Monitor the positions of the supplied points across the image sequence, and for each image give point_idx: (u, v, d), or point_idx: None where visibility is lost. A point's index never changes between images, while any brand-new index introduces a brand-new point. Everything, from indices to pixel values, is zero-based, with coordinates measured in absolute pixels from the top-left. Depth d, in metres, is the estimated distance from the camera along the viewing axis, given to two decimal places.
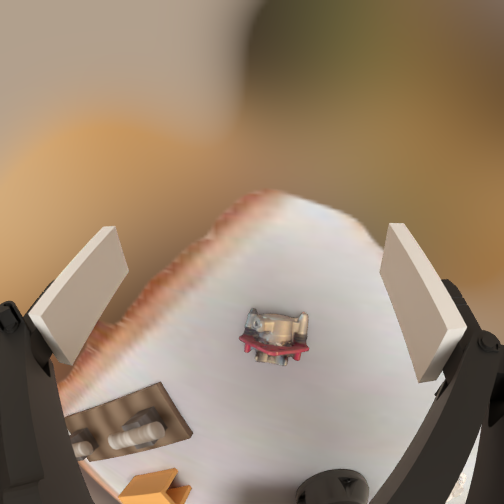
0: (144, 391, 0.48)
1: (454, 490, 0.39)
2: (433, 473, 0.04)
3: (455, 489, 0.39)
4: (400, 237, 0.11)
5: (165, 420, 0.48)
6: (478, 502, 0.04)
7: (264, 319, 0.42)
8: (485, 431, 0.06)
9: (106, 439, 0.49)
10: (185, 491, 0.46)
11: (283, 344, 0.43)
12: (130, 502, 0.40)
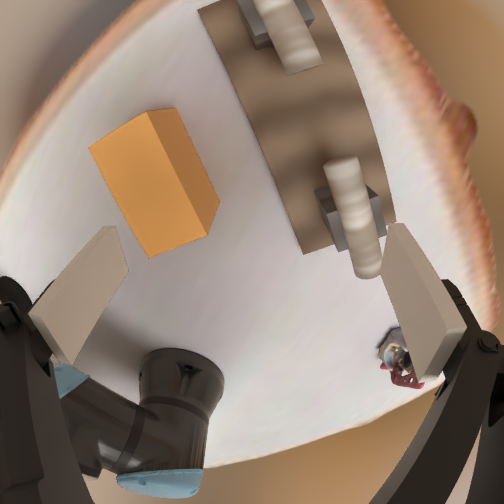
0: (390, 198, 0.31)
1: None
2: (433, 473, 0.04)
3: None
4: (400, 237, 0.11)
5: None
6: (478, 502, 0.04)
7: None
8: (486, 431, 0.06)
9: (280, 76, 0.26)
10: None
11: (409, 372, 0.40)
12: (139, 145, 0.23)
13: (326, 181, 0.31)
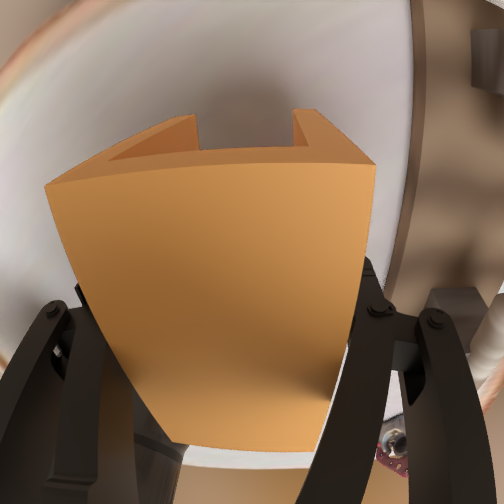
0: None
1: None
2: (346, 445, 0.05)
3: None
4: None
5: None
6: (420, 484, 0.05)
7: None
8: (408, 410, 0.07)
9: (480, 139, 0.14)
10: None
11: (398, 456, 0.35)
12: (268, 280, 0.06)
13: (448, 283, 0.21)
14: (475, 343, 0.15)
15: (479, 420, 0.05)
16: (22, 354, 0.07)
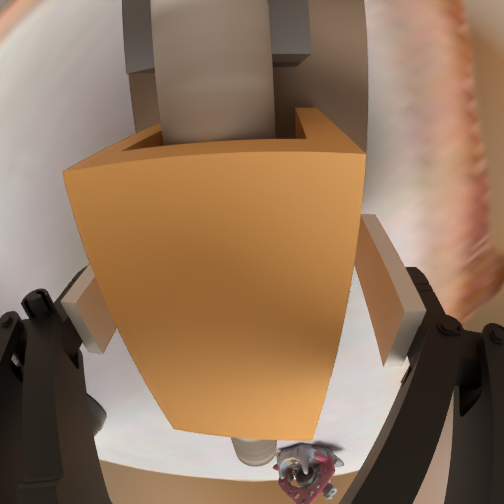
0: None
1: None
2: (402, 460, 0.04)
3: None
4: (368, 227, 0.12)
5: None
6: (458, 493, 0.04)
7: None
8: (458, 421, 0.06)
9: None
10: None
11: (299, 485, 0.35)
12: (268, 260, 0.06)
13: None
14: None
15: None
16: None
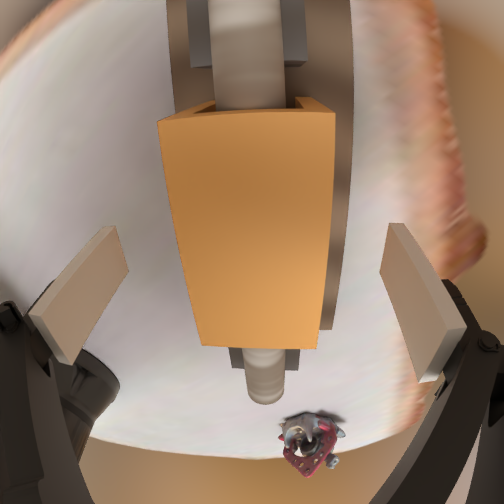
0: (333, 306, 0.27)
1: None
2: (433, 473, 0.04)
3: None
4: (400, 237, 0.11)
5: None
6: (478, 502, 0.04)
7: None
8: (485, 431, 0.06)
9: None
10: None
11: (303, 454, 0.40)
12: (284, 173, 0.11)
13: None
14: None
15: None
16: None
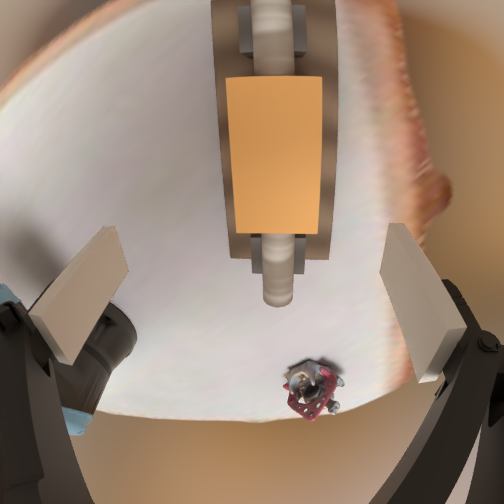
0: (329, 237, 0.34)
1: None
2: (433, 473, 0.04)
3: None
4: (400, 237, 0.11)
5: None
6: (478, 502, 0.04)
7: None
8: (486, 431, 0.06)
9: None
10: None
11: (306, 402, 0.48)
12: (295, 108, 0.18)
13: None
14: None
15: None
16: None
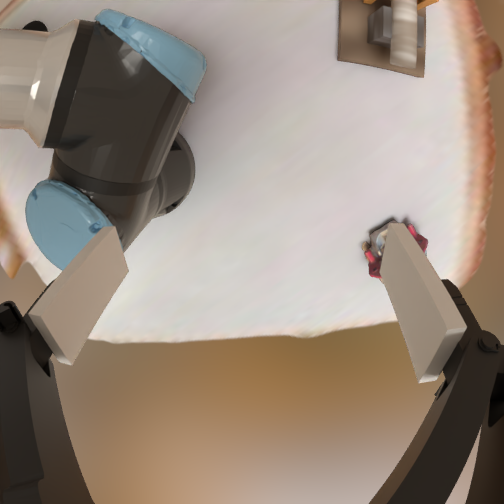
0: (424, 56, 0.29)
1: None
2: (433, 473, 0.04)
3: None
4: (400, 237, 0.11)
5: (378, 49, 0.29)
6: (478, 502, 0.04)
7: None
8: (485, 431, 0.06)
9: None
10: None
11: None
12: None
13: None
14: (391, 2, 0.21)
15: None
16: None
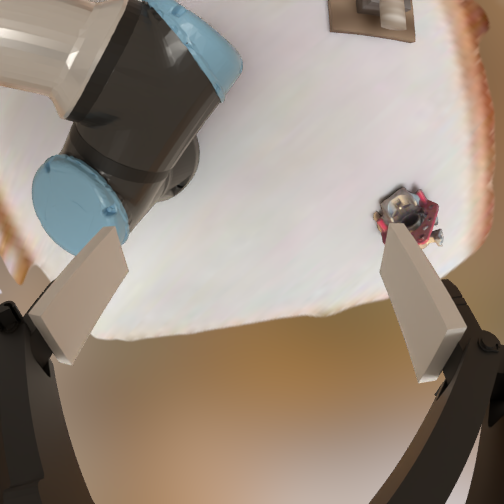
0: (413, 22, 0.27)
1: None
2: (433, 473, 0.04)
3: None
4: (400, 237, 0.11)
5: (368, 17, 0.28)
6: (478, 502, 0.04)
7: None
8: (485, 431, 0.06)
9: None
10: None
11: None
12: None
13: None
14: None
15: None
16: None
